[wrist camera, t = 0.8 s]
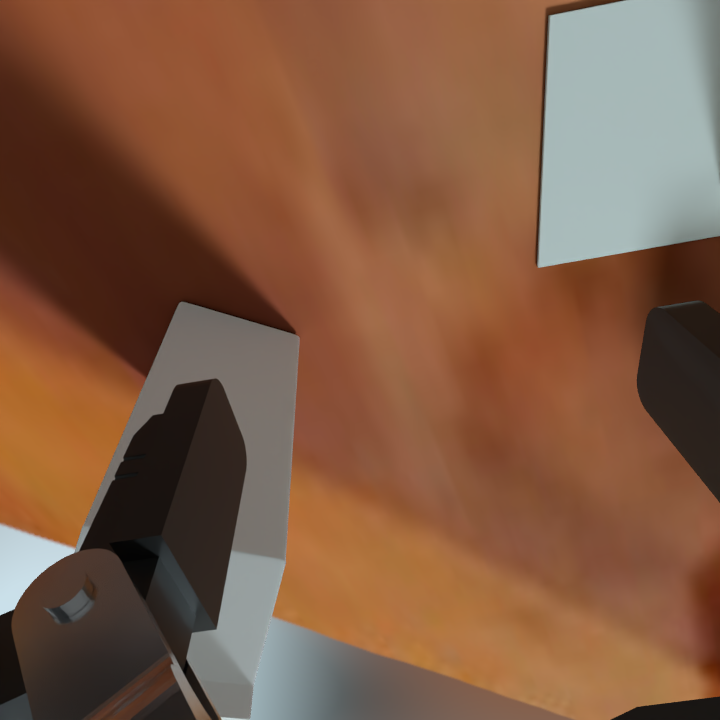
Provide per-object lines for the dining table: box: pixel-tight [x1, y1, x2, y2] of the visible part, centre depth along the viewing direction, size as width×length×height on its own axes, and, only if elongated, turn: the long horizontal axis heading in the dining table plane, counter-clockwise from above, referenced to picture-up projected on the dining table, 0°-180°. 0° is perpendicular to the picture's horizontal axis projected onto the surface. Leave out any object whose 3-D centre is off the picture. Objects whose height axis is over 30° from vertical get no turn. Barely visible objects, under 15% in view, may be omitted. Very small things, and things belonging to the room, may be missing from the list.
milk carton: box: [75, 302, 299, 720], centre depth 25 cm, size 7×7×19 cm
